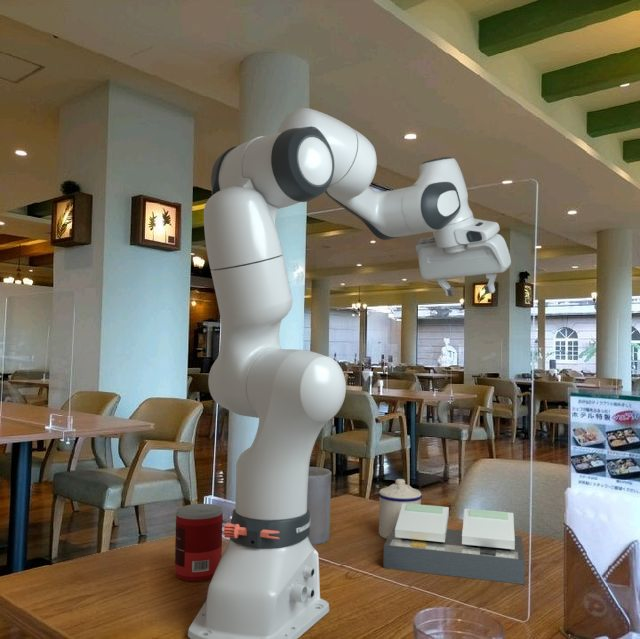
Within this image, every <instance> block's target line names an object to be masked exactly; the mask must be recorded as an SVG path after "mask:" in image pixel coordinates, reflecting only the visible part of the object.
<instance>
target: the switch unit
mask: <svg viewBox="0 0 640 639" xmlns="http://www.w3.org/2000/svg"><path fill="white" fill-rule="evenodd" d="M395 527H396V525H395V526H394V528H393V530H392V532H391V534H390V535H389V537H388V539H386V541H385V542H384V544H383V569H389V570H397V571H398V570H399V571H407V572H415V573H425V574H432V575H440V576H450V577H458V578H467V579H474V580H476V579H477V580H485V581H493V582H499V583H507V584H508V583H512V584H517V585H518V584H519V585H525V567H526V566H525V553H524V548H523V547H524V545H523V539H522V535H515V550H514V549H505V548H495V547H485V546H476V545H466V544H462V530H463V529H462V530H460V529H451V528H447V531H446V538H445V542H437V541H427V540H417V539H408V538H398V537H395Z"/></svg>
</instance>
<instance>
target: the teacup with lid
mask: <svg viewBox="0 0 640 639" xmlns="http://www.w3.org/2000/svg"><path fill="white" fill-rule="evenodd" d="M394 482H395V483H392V484H390V485H389V486H387V487H382V488H381V489H379V491H378V493H377V494H378V496H379V500H378V501H379V503H378V504H379V506H378V512H379V515H378V534H379V536H380V537H382V539H385V540H387V539H388V537H389V535H390V534H391V532H392V530H393V528H394V526H395V525H396V524H397V521H398V517H399V514H400V511H401V507H402V504H403V503H406V504H407V503H408V504H420V505H422V504H421V503H422V497H423V495H422V492H421V491H420V490H419V489H417V488H413V487H412V486H411V485H409V484H406V481H405V479H404V478H397V479H396V480H395V481H394Z"/></svg>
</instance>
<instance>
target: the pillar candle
mask: <svg viewBox="0 0 640 639" xmlns="http://www.w3.org/2000/svg"><path fill="white" fill-rule="evenodd" d="M331 486H332V471H331V470H330V469H328V468H324V467H319V466H310V465H309V473H308V494H307V509H308V510H309V512H310V534H309V536H308V538H309V541H310V543H311V545H312V546H316V545H323V544H325V543H327V542H328V541H329V539H330V535H331V534H330V530H331V497H332V495H331V492H332V490H331V488H332V487H331Z"/></svg>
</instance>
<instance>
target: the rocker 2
mask: <svg viewBox="0 0 640 639" xmlns="http://www.w3.org/2000/svg"><path fill="white" fill-rule="evenodd" d="M463 511H464V512H463V522H462V544H466V545H476V546H485V547H495V548H505V549H514V550H515V536H516V534H515V523H514V522H515V517H514V512H508V511H500V510H499V511H497V510H486V509H475V508H474V509H473V508H464V510H463Z"/></svg>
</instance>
